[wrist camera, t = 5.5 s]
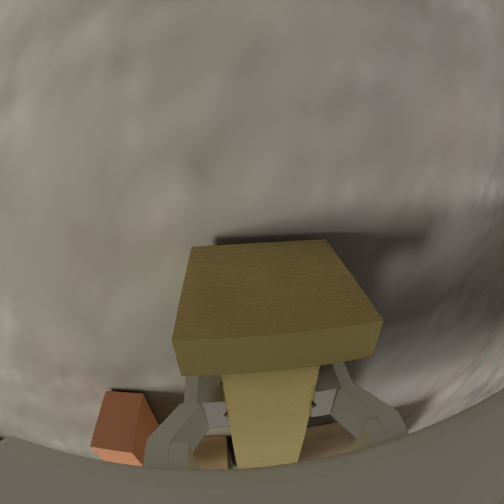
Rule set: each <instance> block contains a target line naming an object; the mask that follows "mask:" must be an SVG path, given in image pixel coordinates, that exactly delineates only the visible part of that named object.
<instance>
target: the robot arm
mask: <svg viewBox="0 0 504 504" xmlns="http://www.w3.org/2000/svg"><path fill="white" fill-rule="evenodd" d="M329 414H331V416H332V417H333V418H334V419H335V420H336V421H338V422H339V423H340V424H341V425H342V426H343V427H344V428H345V429H347V430H348V431H349V432H350V433H351V434H352V435H353V436H355V437H356V440H355V442H354V444H353V446H352V448H351V449H350V452H347V453H342V454H338V455H333V456H329V457H324V458H319V459H314V460H308V461H302V462H296V463H289V464H281V465H273V466H264V467H253V468H238V469H200V468H199V466H198V464H197V462H196V460H195V458H194V456H193V454H192V453H193V451H194V450H195V448H196V447H197V445H198V444H199V442H200V441H201V439H202V438H203V437H204V435H205V434H206V432H207V431H208V429H209V427H222V426H229V418H228V413H227V407H226V401H225V395H224V389H223V383H222V376H221V375H207V376H186V384H185V394H184V403H180V404H179V405H178V406H177V407H176V409H175V410H174V411H173V412H172V413H171V414H170V415H169V416H168V417H167V418H166V419H165V421H164V422H163V423H162V424H161V425H160V426H159V427H158V428H157V429H156V430H155V431H154V432H153V433H152V434H151V435H150V437H149V438H148V439H147V440H146V447H145V454H144V461H143V466H137V465H129V464H122V463H115V462H109V461H103V460H98V459H93V458H88V457H83V456H79V455H74V454H70V453H66V452H63V451H59V450H55V449H52V448H48V447H45V446H42V445H38V444H35V443H32V442H29V441H26V440H24V439H21V438H18V437H15V436H9V437H7V438H5V439H3V440H1V441H0V504H504V388H503V389H502V390H500V391H498V392H497V393H495V394H493V395H492V396H490V397H488V398H486V399H484V400H483V401H481V402H479V403H477V404H475V405H473V406H471V407H469V408H467V409H465V410H463V411H461V412H459V413H457V414H455V415H453V416H451V417H448V418H446V419H444V420H442V421H439V422H437V423H435V424H432V425H430V426H428V427H425V428H423V429H420V430H417V431H415V432H412V433H408V430H407V428H406V426H405V424H404V422H403V420H402V418H401V416H400V414H399V412H398V411H397V410H396V409H394V408H392V407H391V406H389V405H388V404H386V403H384V402H383V401H381V400H380V399H378V398H377V397H375V396H373V395H372V394H370V393H369V392H367V391H366V390H364V389H363V388H361V387H359V386H358V385H355V386H354V384H353V382H352V380H351V377H350V375H349V373H348V371H347V368H346V366H345V364H344V362H340V363H333V364H327V365H320V368H319V373H318V378H317V383H316V388H315V390H314V395H313V402H312V405H311V410H310V416H311V417H316V416H322V415H329Z"/></svg>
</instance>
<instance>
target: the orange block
mask: <svg viewBox="0 0 504 504" xmlns="http://www.w3.org/2000/svg"><path fill="white" fill-rule="evenodd" d="M158 427H159V424H158V422H157V420H156V418H155V416H154V414H153V412H152V411H151V409H150V407H149V405H148V403H147V401H146V398H145V396H144V394H143V393H126V392H113V391H106V393H105V396H104V399H103V402H102V406H101V409H100V413H99V416H98V420H97V423H96V427H95V430H94V434H93V438H92V442H91V446H90V447H91V448H92V449H93V450H94V451H95V452H96V453H97V454H98V455H99V456H100V457H101V458H102V459H103V460H104V461H109V462H115V463H122V464H129V465H137V466H143V461H144V454H145V447H146V440H147V439H148V438H149V437H150V435H151V434H152V433H153V432H154V431H155V430H156V429H157V428H158Z"/></svg>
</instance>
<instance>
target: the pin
mask: <svg viewBox="0 0 504 504" xmlns="http://www.w3.org/2000/svg"><path fill="white" fill-rule="evenodd" d="M383 321H384V320H383V319H382V317H381V316H380V315H379V313H378V312H377V310H376V309H375V307H374V306H373V304H372V303H371V301H370V300H369V299H368V297H367V296H366V294H365V293H364V291H363V290H362V289H361V287H360V286H359V284H358V283H357V282H356V280H355V279H354V277H353V276H352V275H351V273H350V272H349V270H348V269H347V268H346V266H345V265H344V264H343V262H342V261H341V260H340V258H339V257H338V256H337V254H336V253H335V251H334V250H333V249H332V247H331V246H330V245H329V244H328V242H327V241H326V240H325V239H322V240H303V241H284V242H266V243H248V244H231V245H214V246H198V247H192V248H191V252H190V257H189V261H188V265H187V270H186V274H185V279H184V283H183V288H182V292H181V297H180V302H179V307H178V311H177V316H176V321H175V326H174V332H173V337H172V342H173V346H174V350H175V354H176V358H177V361H178V365H179V368H180V372H181V375H182V376H207V375H221V376H222V383H223V389H224V395H225V401H226V407H227V413H228V418H229V425H230V431H231V436H232V442H233V447H234V453H235V458H236V463H237V468H253V467H264V466H273V465H281V464H289V463H296V462H298V459H299V455H300V451H301V448H302V444H303V440H304V436H305V432H306V428H307V424H308V419H309V415H310V410H311V405H312V402H313V395H314V390H315V388H316V383H317V378H318V373H319V368H320V365H327V364H333V363H340V362H345V361H351V360H357V359H362V358H367V357H372V356H373V354H374V351H375V348H376V345H377V341H378V338H379V335H380V331H381V328H382V325H383Z"/></svg>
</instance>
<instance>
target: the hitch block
mask: <svg viewBox="0 0 504 504" xmlns="http://www.w3.org/2000/svg"><path fill="white" fill-rule="evenodd" d="M355 440H356V437H355V436H353V435H352V434H351V433H350V432H349V431H348V430H347V429H345V428H344V427H343V426H342V425H341V424H340V423H339V422H335V423H330V424H325V425H319V426H314V427H308V428H306V432H305V436H304V440H303V444H302V448H301V451H300V455H299V459H298V462H302V461H308V460H314V459H319V458H324V457H329V456H333V455H338V454H342V453H347V452H350V449H351V448H352V446H353V444H354V442H355ZM192 454H193V456H194V458H195V460H196V462H197V464H198V466H199V468H200V469H233V463H232V459H231V455H230V451H229V446H228V442H227V438H226V436H204V437H203V438H202V439H201V441H200V442H199V444H198V445H197V447H196V448H195V450H194V451H193V453H192Z"/></svg>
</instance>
